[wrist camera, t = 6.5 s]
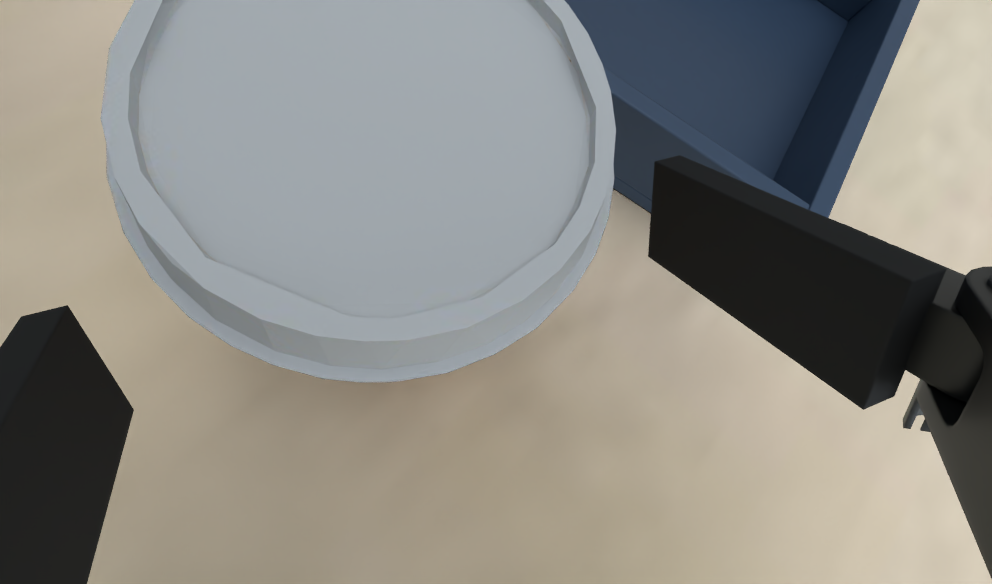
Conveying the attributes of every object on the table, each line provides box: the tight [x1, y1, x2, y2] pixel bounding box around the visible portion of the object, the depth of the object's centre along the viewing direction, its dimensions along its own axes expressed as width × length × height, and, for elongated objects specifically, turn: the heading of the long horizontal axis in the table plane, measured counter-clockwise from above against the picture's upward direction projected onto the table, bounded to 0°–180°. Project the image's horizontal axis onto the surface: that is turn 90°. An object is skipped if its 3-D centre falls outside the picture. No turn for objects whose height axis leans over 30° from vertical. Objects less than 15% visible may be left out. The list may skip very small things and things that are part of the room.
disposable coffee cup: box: [101, 0, 616, 382], centre depth 15 cm, size 10×10×12 cm
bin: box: [565, 0, 920, 218], centre depth 24 cm, size 17×17×5 cm
